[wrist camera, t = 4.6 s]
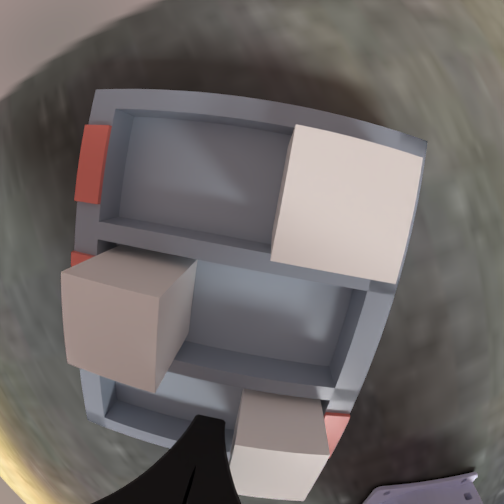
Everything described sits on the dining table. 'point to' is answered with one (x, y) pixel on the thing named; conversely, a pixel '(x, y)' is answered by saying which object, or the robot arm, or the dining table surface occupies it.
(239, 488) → the tab far
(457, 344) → the dining table surface
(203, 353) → the switch bank
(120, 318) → the tab mid
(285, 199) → the tab near
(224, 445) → the robot arm
